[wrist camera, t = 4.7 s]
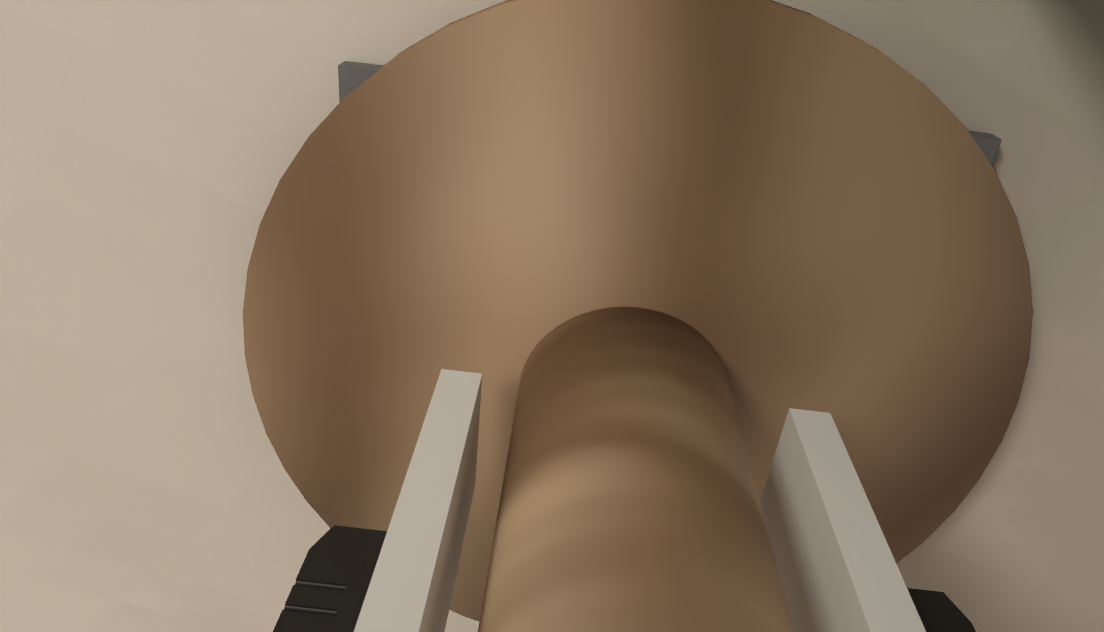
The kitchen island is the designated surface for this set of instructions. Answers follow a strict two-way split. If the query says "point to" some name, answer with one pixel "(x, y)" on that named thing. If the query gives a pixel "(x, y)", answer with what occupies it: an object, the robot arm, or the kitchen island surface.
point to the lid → (637, 299)
